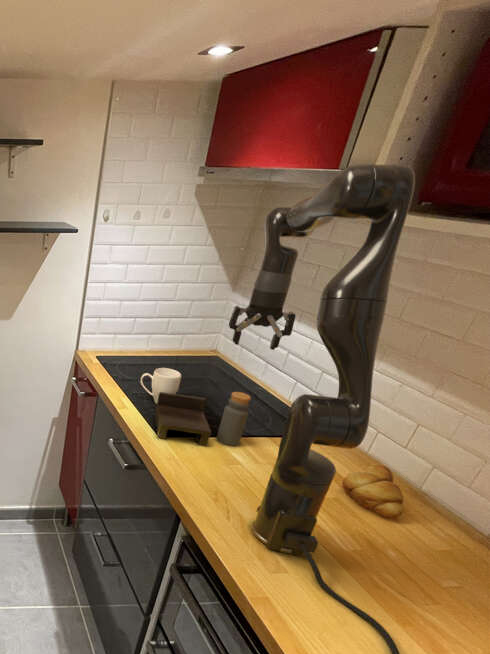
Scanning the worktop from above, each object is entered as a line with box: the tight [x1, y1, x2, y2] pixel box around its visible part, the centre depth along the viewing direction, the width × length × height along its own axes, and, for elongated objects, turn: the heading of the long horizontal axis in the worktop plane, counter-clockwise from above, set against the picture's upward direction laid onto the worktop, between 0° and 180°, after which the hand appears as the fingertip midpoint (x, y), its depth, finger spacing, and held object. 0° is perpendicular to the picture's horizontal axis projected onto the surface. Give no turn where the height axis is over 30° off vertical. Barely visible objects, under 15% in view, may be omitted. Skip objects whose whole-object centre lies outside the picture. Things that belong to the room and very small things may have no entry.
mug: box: [140, 367, 182, 405], centre depth 151 cm, size 12×8×11 cm
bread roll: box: [342, 464, 405, 519], centre depth 105 cm, size 13×10×8 cm
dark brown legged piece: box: [153, 392, 212, 447], centre depth 133 cm, size 14×13×9 cm
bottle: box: [216, 391, 252, 447], centre depth 128 cm, size 6×6×15 cm
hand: (253, 346), depth 123 cm, fingers open, 8 cm apart
